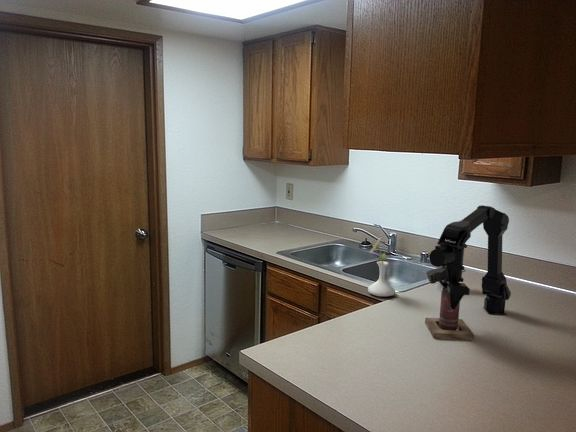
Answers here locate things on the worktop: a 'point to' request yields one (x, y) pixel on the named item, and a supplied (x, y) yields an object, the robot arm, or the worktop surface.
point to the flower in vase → (381, 277)
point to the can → (448, 312)
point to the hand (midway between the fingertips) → (450, 306)
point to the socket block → (461, 334)
